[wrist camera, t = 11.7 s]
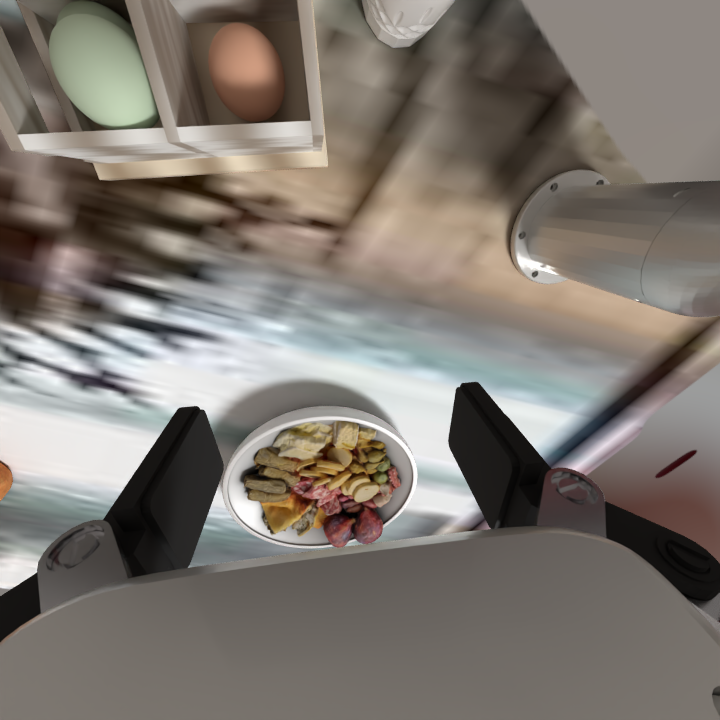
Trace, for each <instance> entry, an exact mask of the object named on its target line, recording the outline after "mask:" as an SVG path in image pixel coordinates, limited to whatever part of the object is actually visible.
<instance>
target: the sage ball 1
mask: <svg viewBox="0 0 720 720" xmlns="http://www.w3.org/2000/svg"><path fill="white" fill-rule="evenodd" d="M73 14H89V15H94V16H97V17H101V18H103V19H105V20H107V21H109V22H111V23H113V24H115V25H116V26H118V27H119V28H121V29H122V30H124V31H125V32H126V33H127V34H128V35H130V36H131V37H132V38H133V39H134V40H135V41H136V42H137V38H136V35H135V32H134V28H133V27H132V26H131V25H130V24H129V23H128V22H127V21H126V20H125V19H124V18H122V17H121V16H120V15H119V14H117V13H116V12H115V11H113V10H111V9H110V8H108V7H106V6H104V5H102V4H99V3H96V2H93V1H87V0H79V1H74V2H71V3H69V4H67V5H66V6H65V7H64V8H63V9H62V10H61V11H60V13H59V15H58V18H57V21H56V24H57V23H58V22H59V21H60V20H62V19H63V18H65V17H67V16H70V15H73ZM137 43H138V42H137Z"/></svg>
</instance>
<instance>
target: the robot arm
mask: <svg viewBox="0 0 720 720" xmlns="http://www.w3.org/2000/svg"><path fill="white" fill-rule="evenodd" d="M510 248H511V255H512V259H513V262H514V265H515V267H516V268H517V270H518V271H519V272H520V273H521V274H522V275H523V276H524V277H525V278H527V279H529V280H531V281H534V282H537V283H541V284H555V283H559V282H563V281H566V280H568V279H571V280H574V281H577V282H580V283H583V284H586V285H589V286H592V287H595V288H598V289H601V290H604V291H607V292H610V293H613V294H616V295H619V296H622V297H625V298H628V299H631V300H634V301H637V302H640V303H643V304H647V305H650V306H653V307H656V308H659V309H662V310H665V311H668V312H671V313H675V314H679V315H684V316H691V317H714V316H720V180H718V181H692V182H666V183H665V182H664V183H638V184H612V185H611V184H610V183H609V181H608V180H607V179H606V178H605V177H604V176H602V175H601V174H600V173H597V172H594V171H592V170H572V171H567V172H564V173H560V174H558V175H556V176H554V177H552V178H550V179H549V180H547V181H546V182H545V183H543V184H542V185H541V186H539V187H538V188H537V189H536V190H535V191H534V192H533V193H532V194H531V195H530V197H529V198H528V200H527V201H526V202H525V204H524V205H523V207H522V208H521V210H520V212H519V214H518V216H517V218H516V221H515V224H514V226H513V230H512V235H511V247H510ZM448 442H449V447H450V450H451V452H452V454H453V456H454V458H455V460H456V462H457V464H458V466H459V468H460V470H461V471H462V473H463V475H464V477H465V479H466V481H467V483H468V485H469V487H470V489H471V491H472V493H473V495H474V497H475V499H476V501H477V503H478V505H479V507H480V509H481V511H482V513H483V515H484V517H485V519H486V521H487V523H488V525H489V527H490V528H491V529H488V530H478V531H469V532H460V533H452V534H444V535H435V536H427V537H419V538H411V539H403V540H395V541H387V542H379V543H371V544H363V545H355V546H347V547H339V548H332V549H324V550H316V551H309V552H301V553H293V554H286V555H278V556H271V557H263V558H256V559H248V560H241V561H233V562H226V563H218V564H211V565H205V566H198V567H191V568H188V566H189V565H190V562H191V560H192V557H193V554H194V551H195V548H196V546H197V543H198V540H199V537H200V535H201V532H202V529H203V526H204V523H205V521H206V518H207V515H208V512H209V509H210V507H211V504H212V501H213V498H214V496H215V493H216V490H217V487H218V484H219V482H220V479H221V476H222V473H223V461H222V458H221V455H220V452H219V449H218V447H217V444H216V441H215V438H214V435H213V432H212V430H211V427H210V424H209V421H208V418H207V415H206V413H205V411H204V410H200V408H199V407H197V406H193V407H181V408H179V409H178V410H177V411H176V413H175V414H174V415H173V417H172V418H171V420H170V421H169V423H168V424H167V426H166V427H165V429H164V430H163V432H162V433H161V435H160V436H159V438H158V439H157V441H156V442H155V444H154V445H153V447H152V448H151V450H150V451H149V453H148V454H147V455H146V457H145V458H144V460H143V461H142V463H141V464H140V466H139V467H138V469H137V470H136V472H135V473H134V475H133V476H132V478H131V479H130V481H129V482H128V484H127V485H126V487H125V488H124V490H123V491H122V493H121V494H120V495H119V497H118V498H117V500H116V501H115V503H114V504H113V506H112V507H111V509H110V510H109V512H108V513H107V515H106V516H105V518H104V519H103V520H92V521H88V522H85V523H82V524H80V525H78V526H76V527H73V528H72V529H70V530H68V531H67V532H65V533H64V534H62V535H61V536H60V537H59V538H57V539H56V540H55V541H54V542H53V543H52V544H51V545H50V546H49V547H48V548H47V549H46V551H45V552H44V553H43V555H42V557H41V558H40V560H39V562H38V568H37V573H36V574H34V575H33V576H31V577H30V578H28V579H27V580H25V581H23V582H22V583H20V584H19V585H17V586H16V587H14V588H13V589H11V590H9V591H8V592H6V593H5V594H3V595H2V596H0V720H720V564H719V562H718V561H717V560H716V559H715V558H714V557H713V556H712V555H711V554H710V553H709V552H708V551H707V550H706V549H704V548H703V547H701V546H700V545H698V544H697V543H696V542H694V541H692V540H690V539H688V538H686V537H685V536H683V535H680V534H678V533H676V532H674V531H671V530H669V529H667V528H665V527H662V526H660V525H658V524H656V523H653V522H651V521H649V520H646V519H644V518H642V517H640V516H637V515H635V514H633V513H631V512H628V511H626V510H624V509H622V508H619V507H617V506H615V505H613V504H610V503H608V502H606V501H605V499H604V494H603V492H602V491H601V489H600V488H599V486H598V485H597V484H596V483H595V482H594V481H593V480H591V479H590V478H588V477H587V476H585V475H584V474H582V473H580V472H577V471H575V470H572V469H568V468H560V467H558V468H553V469H551V468H550V467H549V465H548V464H547V463H546V462H545V461H544V459H543V458H542V457H541V456H540V455H539V453H538V452H537V451H536V450H535V449H534V447H533V446H532V445H531V444H530V443H529V441H528V440H527V439H526V438H525V437H524V435H523V434H522V433H521V432H520V431H519V429H518V428H517V427H516V426H515V425H514V423H513V422H512V421H511V420H510V419H509V418H508V417H507V416H506V415H505V414H504V413H503V412H502V410H501V409H500V408H499V407H498V406H497V404H496V403H495V402H494V401H493V399H492V398H491V397H490V396H489V395H488V393H487V392H486V391H485V390H484V389H483V387H482V386H481V385H480V384H479V383H478V382H469V383H462V384H461V385H460V387H458V388H457V389H456V393H455V400H454V406H453V413H452V419H451V426H450V432H449V440H448Z"/></svg>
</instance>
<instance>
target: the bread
mask: <svg viewBox="0 0 720 720" xmlns="http://www.w3.org/2000/svg"><path fill="white" fill-rule="evenodd" d="M12 482H13V478H12V473H11V472H10V470H9V469H8V468H7V467H5V466H4V465H3V464H2V463H0V501H1V500H2V498H3V497H4V496H5V495H6V493H7V492H8V491H9V489H10V488H11V485H12Z"/></svg>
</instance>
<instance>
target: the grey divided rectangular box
mask: <svg viewBox="0 0 720 720" xmlns="http://www.w3.org/2000/svg"><path fill="white" fill-rule="evenodd" d="M16 1H17V3H18V6H19V8H20V10H21V13H22V15H23V17H24V20H25V22H26V25H27V27H28V29H29V32H30V34H31V36H32V39H33V41H34V44H35V46H36V48H37V51H38V53H39V55H40V58H41V60H42V62H43V65H44V67H45V70H46V72H47V74H48V77H49V79H50V81H51V84H52V86H53V88H54V91H55V93H56V96H57V98H58V100H59V103H60V105H61V107H62V110H63V112H64V114H65V117H66V119H67V122H68V124H69V126H70V129H71V131H72V132H63V133H49V131H48V129H47V127H46V125H45V122H44V120H43V118H42V116H41V113H40V111H39V109H38V107H37V105H36V102H35V100H34V98H33V96H32V94H31V91H30V89H29V87H28V85H27V83H26V80H25V78H24V76H23V74H22V72H21V69H20V67H19V65H18V63H17V60H16V58H15V56H14V54H13V52H12V49H11V47H10V45H9V43H8V41H7V38H6V36H5V34H4V32H3V30H2V27H1V25H0V129H1V131H2V133H3V135H4V137H5V139H6V141H7V143H8V145H9V147H10V149H11V151H16V152H23V153H30V154H37V155H43V156H66V157H72V158H79V159H84V162H91V163H93V165H94V167H95V169H96V172H97V174H98V177H99V179H100V180H124V179H140V178H157V177H173V176H190V175H206V174H223V173H240V172H256V171H273V170H289V169H306V168H322V167H328V160H327V149H326V138H325V128H324V117H323V106H322V96H321V85H320V74H319V64H318V53H317V42H316V32H315V21H314V10H313V0H87V1H93V2H96V3H99V4H102V5H104V6H106V7H108V8H110V9H111V10H113V11H115V12H116V13H117V14H119V15H120V16H121V17H122V18H124V19H125V20H126V21H127V22H128V23H129V24H130V25H131V26H132V27H133V28H134V32H135V35H136V38H137V42H138V45H139V48H140V52H141V55H142V58H143V62H144V65H145V68H146V71H147V75H148V78H149V81H150V85H151V88H152V91H153V95H154V98H155V101H156V105H157V108H158V111H159V115H160V119H159V120H158V122H157V123H156V124H155V126H154V127H152V128H148V129H127V130H109V129H107V128H105V127H102V126H101V125H99V124H97V123H96V122H94V121H93V120H91V119H90V118H89V117H87V116H86V115H85V114H84V113H83V112H82V111H80V110H79V109H78V108H77V107H76V106H75V105H74V103H73V102H72V101H71V100H70V99H69V97H68V96H67V95H66V93H65V92H64V90H63V89H62V87H61V86H60V84H59V82H58V80H57V78H56V76H55V74H54V71H53V68H52V65H51V61H50V55H49V40H50V36H51V33H52V30H53V29H54V27H55V26H56V21H57V18H58V15H59V13H60V11H61V10H62V9H63V8H64V7H65V6H66V5H67V4H69V3H71V2H74V1H79V0H16ZM232 23H243V24H247V25H250V26H252V27H254V28H256V29H257V30H259V31H260V32H261V33H262V34H263V35H264V36H265V37H266V38H267V39H268V40H269V41H270V42H271V43H272V45H273V46H274V48H275V50H276V52H277V53H278V55H279V58H280V60H281V63H282V66H283V70H284V76H285V92H284V97H283V101H282V103H281V106H280V107H279V109H278V110H277V112H276V113H275V114H274V115H273V116H272V117H270V118H269V119H267V120H264V121H260V122H251V121H247V120H244V119H242V118H240V117H238V116H237V115H235V114H234V113H232V112H231V111H230V110H229V109H228V108H227V107H226V106H225V105H224V103H223V102H222V101H221V99H220V98H219V96H218V94H217V93H216V91H215V89H214V86H213V83H212V80H211V77H210V72H209V64H208V57H209V49H210V46H211V43H212V40H213V38H214V36H215V35H216V33H217V32H218V31H219V30H220V29H221V28H223V27H224V26H226V25H228V24H232Z"/></svg>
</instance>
